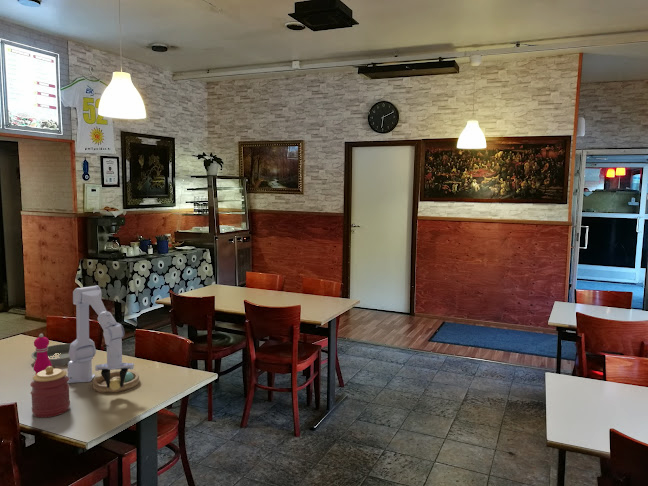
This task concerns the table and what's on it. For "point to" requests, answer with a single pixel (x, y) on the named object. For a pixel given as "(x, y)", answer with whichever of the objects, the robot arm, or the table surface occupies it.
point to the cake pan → (59, 349)
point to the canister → (50, 392)
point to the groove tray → (100, 382)
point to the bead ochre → (114, 384)
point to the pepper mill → (41, 354)
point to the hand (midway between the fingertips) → (115, 386)
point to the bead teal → (128, 377)
